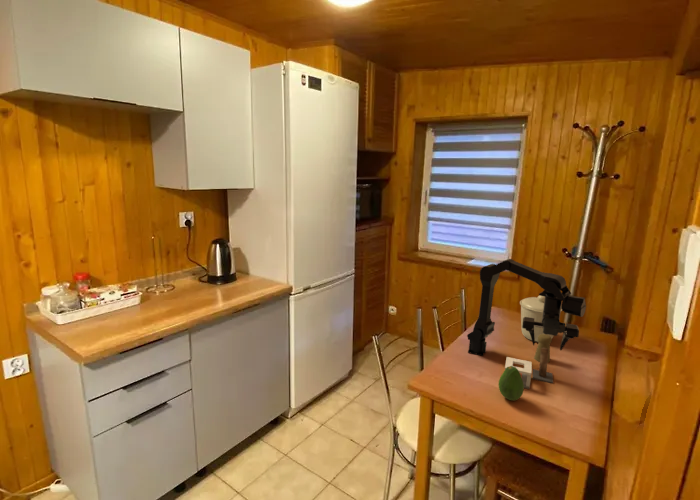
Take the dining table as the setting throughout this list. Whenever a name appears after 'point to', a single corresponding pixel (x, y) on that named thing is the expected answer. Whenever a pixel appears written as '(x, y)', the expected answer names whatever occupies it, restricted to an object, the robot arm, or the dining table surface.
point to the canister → (533, 314)
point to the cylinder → (543, 362)
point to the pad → (546, 379)
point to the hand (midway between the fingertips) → (547, 347)
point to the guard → (521, 369)
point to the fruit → (511, 384)
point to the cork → (543, 346)
